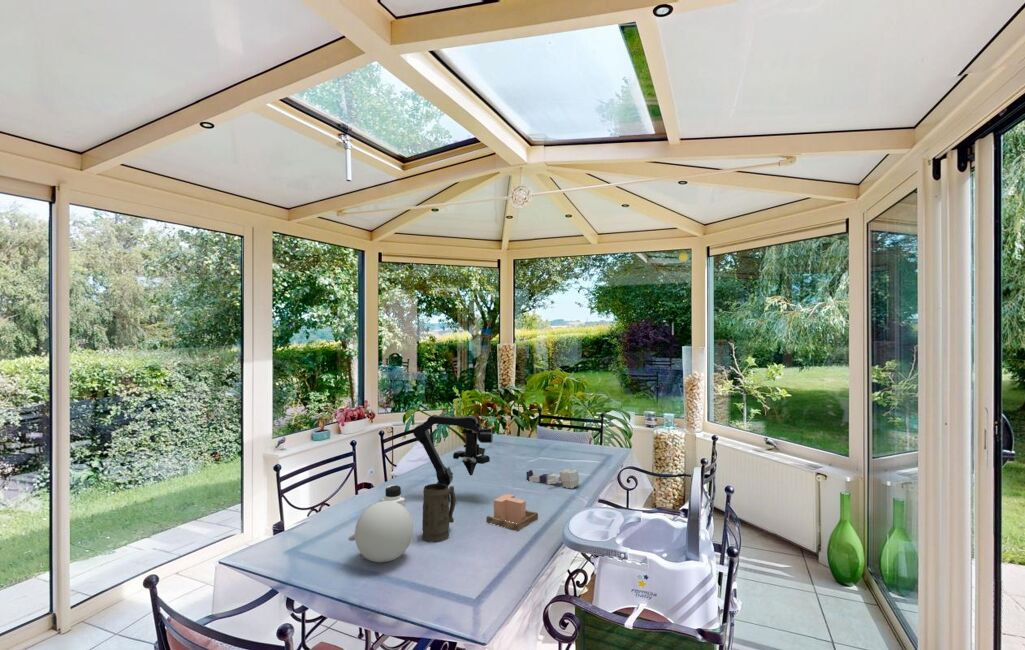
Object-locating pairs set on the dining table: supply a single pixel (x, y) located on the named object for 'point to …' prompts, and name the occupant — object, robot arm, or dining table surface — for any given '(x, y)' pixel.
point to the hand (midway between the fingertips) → (471, 475)
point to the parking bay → (531, 518)
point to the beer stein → (437, 511)
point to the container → (394, 495)
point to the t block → (509, 508)
